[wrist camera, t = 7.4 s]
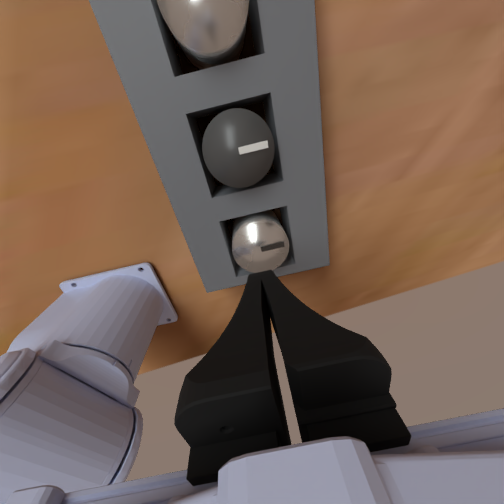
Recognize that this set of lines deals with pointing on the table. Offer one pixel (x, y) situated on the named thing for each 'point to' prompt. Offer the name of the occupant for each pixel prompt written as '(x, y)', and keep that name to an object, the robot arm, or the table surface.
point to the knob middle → (238, 147)
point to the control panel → (218, 100)
